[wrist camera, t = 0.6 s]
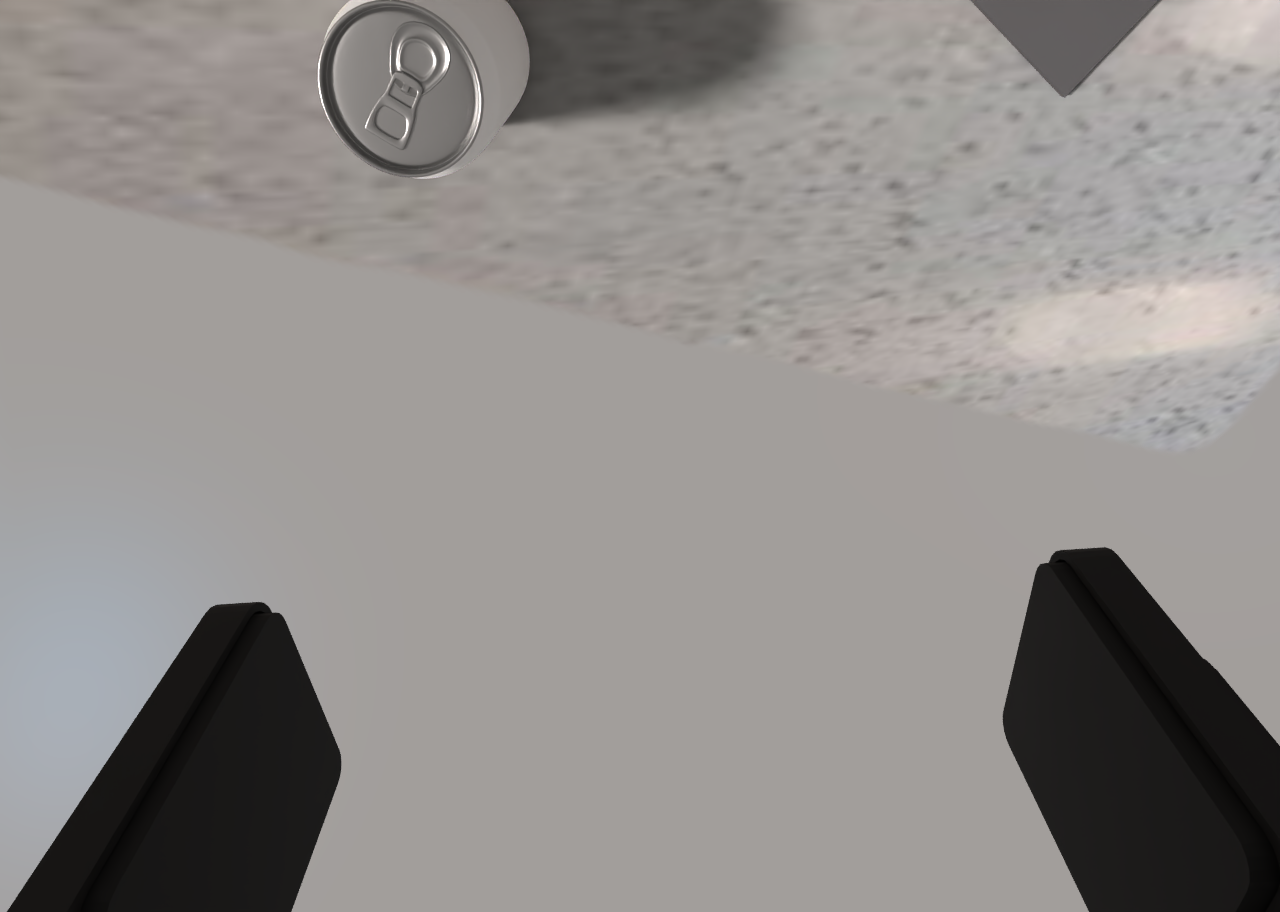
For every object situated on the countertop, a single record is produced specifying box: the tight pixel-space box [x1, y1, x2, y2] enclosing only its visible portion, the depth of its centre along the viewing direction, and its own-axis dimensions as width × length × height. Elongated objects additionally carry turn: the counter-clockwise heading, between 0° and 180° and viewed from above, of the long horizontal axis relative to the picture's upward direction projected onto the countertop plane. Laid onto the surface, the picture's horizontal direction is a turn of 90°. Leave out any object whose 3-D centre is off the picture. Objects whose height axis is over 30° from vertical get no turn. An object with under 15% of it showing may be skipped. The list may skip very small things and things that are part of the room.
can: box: [317, 0, 530, 179], centre depth 32 cm, size 6×6×12 cm
